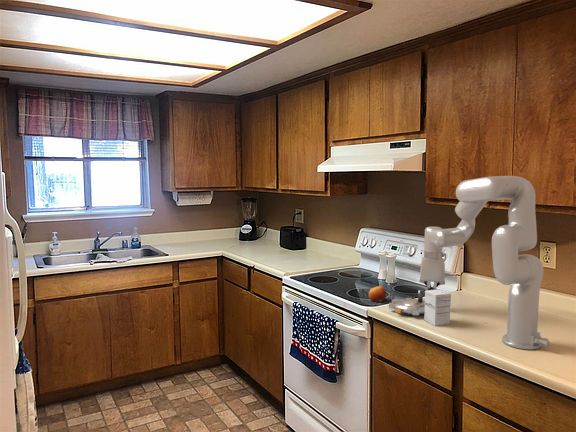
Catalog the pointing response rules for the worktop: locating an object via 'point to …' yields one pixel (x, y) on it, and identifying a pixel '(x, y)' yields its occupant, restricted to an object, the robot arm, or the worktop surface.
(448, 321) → the supplement box
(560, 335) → the worktop surface
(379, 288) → the fruit
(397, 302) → the silver knobbed tray
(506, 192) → the robot arm
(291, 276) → the worktop surface
